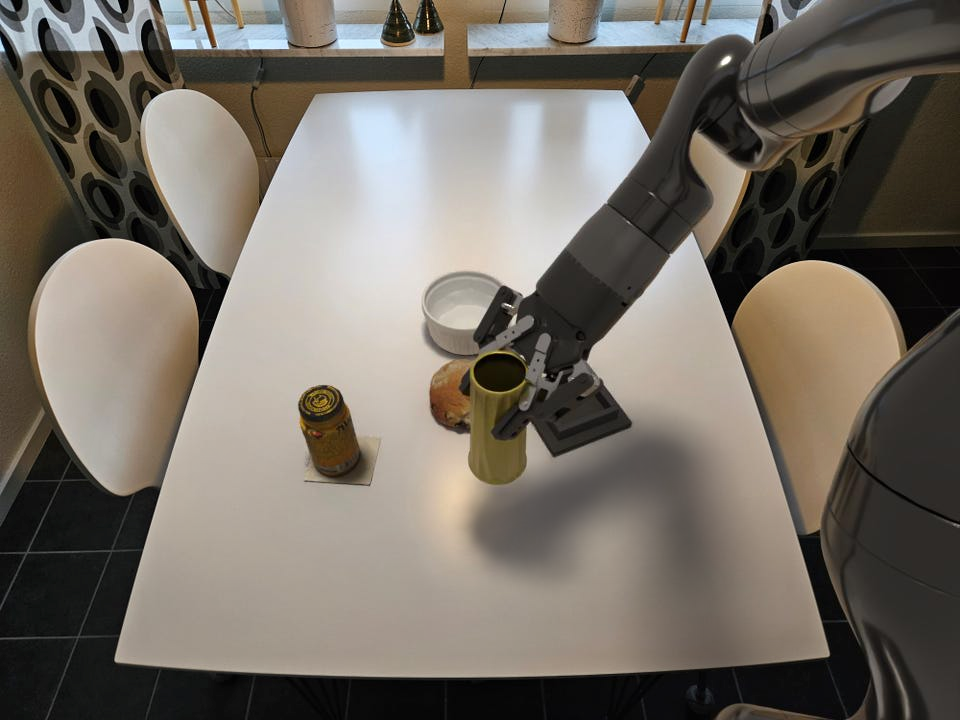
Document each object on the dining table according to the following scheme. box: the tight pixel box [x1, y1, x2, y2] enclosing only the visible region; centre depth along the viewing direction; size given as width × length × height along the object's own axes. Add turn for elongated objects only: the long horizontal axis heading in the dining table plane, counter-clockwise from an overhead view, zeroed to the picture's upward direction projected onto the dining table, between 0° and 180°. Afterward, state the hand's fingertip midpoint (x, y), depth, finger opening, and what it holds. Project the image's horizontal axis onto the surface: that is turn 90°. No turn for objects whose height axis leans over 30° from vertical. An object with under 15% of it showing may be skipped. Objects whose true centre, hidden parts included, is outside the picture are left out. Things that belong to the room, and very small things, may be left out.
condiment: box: [297, 384, 382, 485], centre depth 80 cm, size 7×8×12 cm
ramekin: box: [421, 269, 507, 356], centre depth 97 cm, size 13×13×7 cm
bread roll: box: [428, 359, 474, 431], centre depth 89 cm, size 10×10×8 cm
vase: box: [467, 350, 529, 486], centre depth 62 cm, size 6×6×14 cm
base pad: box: [530, 363, 633, 458], centre depth 88 cm, size 12×12×3 cm
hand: (482, 414), depth 60 cm, fingers closed on vase, 5 cm apart
